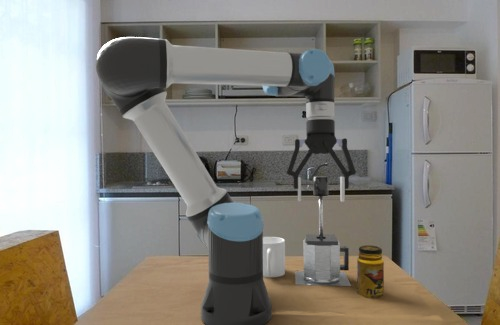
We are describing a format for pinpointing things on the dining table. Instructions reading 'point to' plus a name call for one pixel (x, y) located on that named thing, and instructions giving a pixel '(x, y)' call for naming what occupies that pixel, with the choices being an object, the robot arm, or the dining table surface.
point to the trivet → (301, 281)
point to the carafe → (323, 259)
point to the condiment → (370, 272)
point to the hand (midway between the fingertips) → (320, 201)
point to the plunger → (320, 197)
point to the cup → (273, 256)
